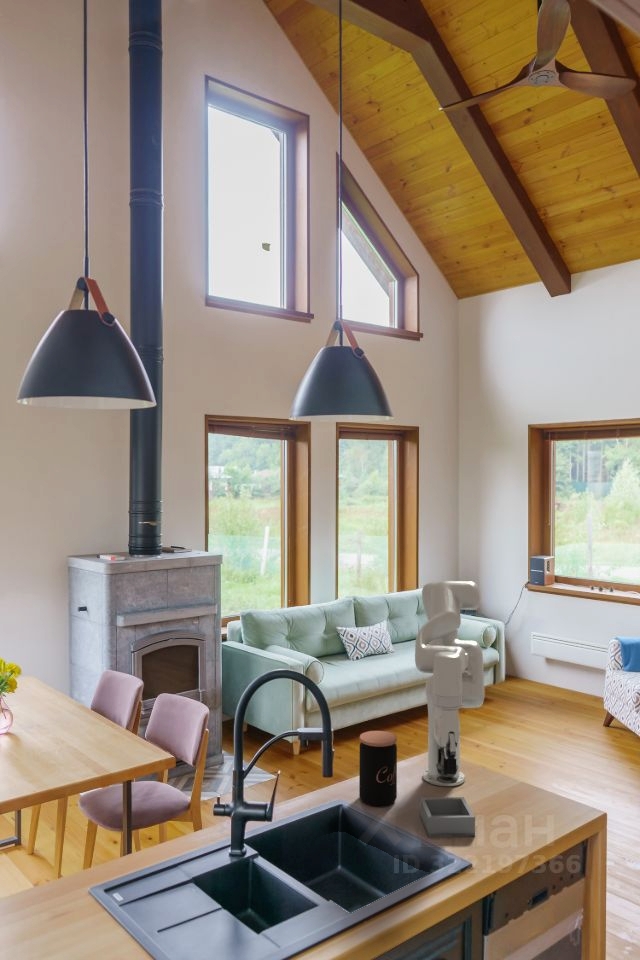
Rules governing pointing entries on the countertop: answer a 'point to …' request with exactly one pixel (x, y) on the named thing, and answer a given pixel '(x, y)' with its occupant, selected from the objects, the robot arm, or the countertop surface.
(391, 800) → the coffee jar
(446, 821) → the bin
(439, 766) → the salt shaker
